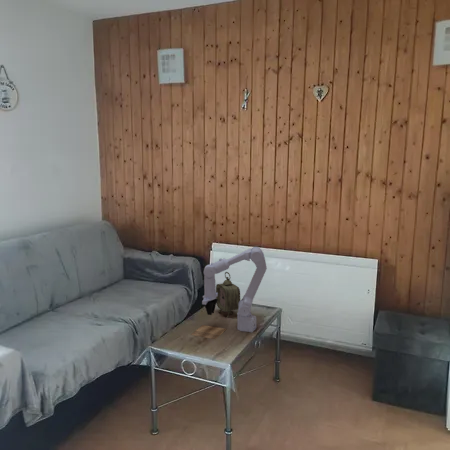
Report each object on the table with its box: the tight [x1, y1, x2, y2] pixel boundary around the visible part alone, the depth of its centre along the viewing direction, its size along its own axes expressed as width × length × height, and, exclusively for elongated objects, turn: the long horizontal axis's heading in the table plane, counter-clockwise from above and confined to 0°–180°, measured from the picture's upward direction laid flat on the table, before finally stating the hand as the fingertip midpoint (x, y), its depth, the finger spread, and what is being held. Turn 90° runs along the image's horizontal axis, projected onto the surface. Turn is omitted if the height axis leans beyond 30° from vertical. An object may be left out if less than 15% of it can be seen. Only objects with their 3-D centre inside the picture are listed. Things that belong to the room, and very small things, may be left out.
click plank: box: [195, 324, 228, 336], centre depth 223 cm, size 14×8×1 cm, turn 66°
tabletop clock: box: [215, 271, 241, 319], centre depth 246 cm, size 14×9×25 cm, turn 25°
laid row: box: [190, 330, 221, 340], centre depth 217 cm, size 14×5×1 cm, turn 66°
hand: (210, 313), depth 224 cm, fingers closed
